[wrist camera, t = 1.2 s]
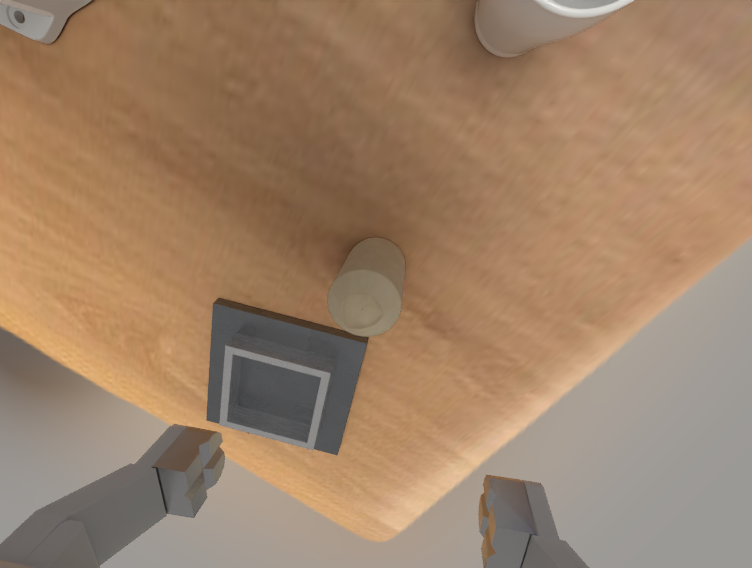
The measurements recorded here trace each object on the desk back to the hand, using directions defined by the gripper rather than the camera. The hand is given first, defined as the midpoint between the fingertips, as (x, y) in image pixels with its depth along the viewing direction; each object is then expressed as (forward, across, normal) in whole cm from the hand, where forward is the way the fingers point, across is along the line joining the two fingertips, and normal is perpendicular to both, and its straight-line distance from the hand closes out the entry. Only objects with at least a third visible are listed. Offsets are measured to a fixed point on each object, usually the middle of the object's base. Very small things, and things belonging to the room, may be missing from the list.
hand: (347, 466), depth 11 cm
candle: (+25, +3, +2) cm, 25 cm away
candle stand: (+25, +12, +17) cm, 32 cm away
